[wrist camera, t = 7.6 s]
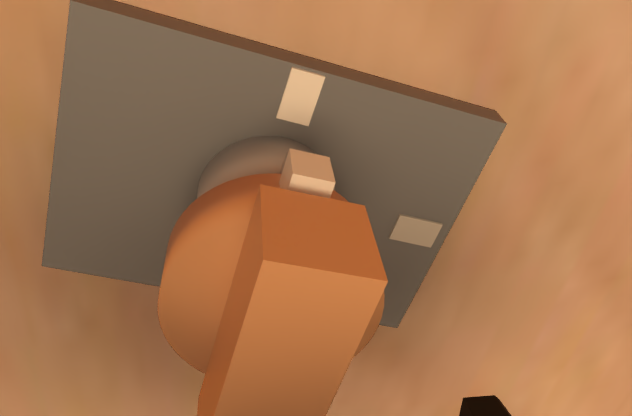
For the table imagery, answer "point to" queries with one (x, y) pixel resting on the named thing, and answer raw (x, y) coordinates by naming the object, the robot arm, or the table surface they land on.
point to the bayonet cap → (272, 290)
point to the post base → (220, 97)
